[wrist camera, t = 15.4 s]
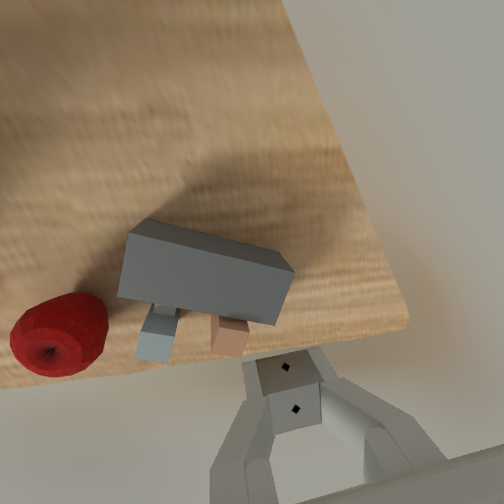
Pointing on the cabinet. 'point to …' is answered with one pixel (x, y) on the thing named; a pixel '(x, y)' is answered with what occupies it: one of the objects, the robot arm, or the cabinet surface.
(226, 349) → the terracotta plug
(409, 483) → the robot arm
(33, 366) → the apple
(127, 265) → the socket block
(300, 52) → the cabinet surface
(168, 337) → the slate plug
